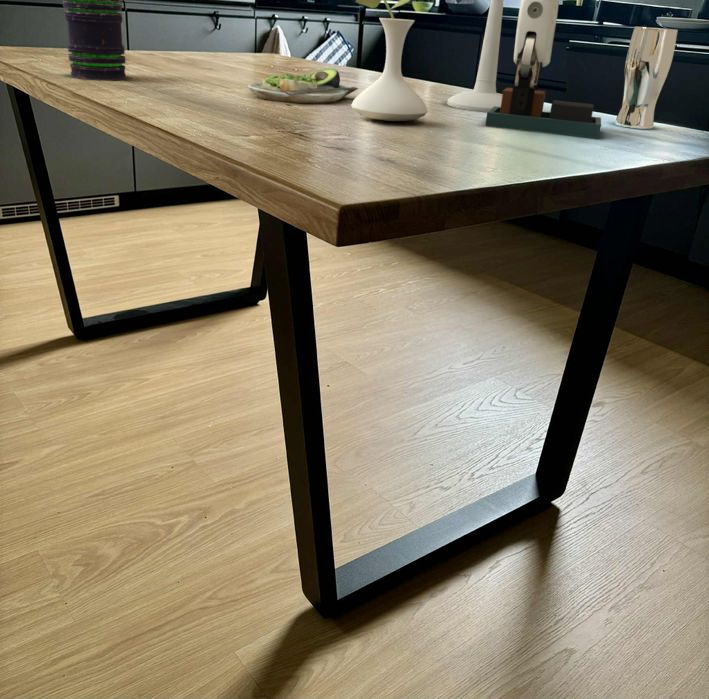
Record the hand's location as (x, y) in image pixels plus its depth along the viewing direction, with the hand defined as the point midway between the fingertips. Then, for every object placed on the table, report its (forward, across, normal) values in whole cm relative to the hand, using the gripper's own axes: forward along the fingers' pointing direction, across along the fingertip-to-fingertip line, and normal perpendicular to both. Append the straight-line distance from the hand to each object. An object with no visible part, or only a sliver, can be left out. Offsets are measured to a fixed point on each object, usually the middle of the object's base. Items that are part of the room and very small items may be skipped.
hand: (521, 111), depth 110 cm
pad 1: (0, 0, 0) cm, 0 cm away
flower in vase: (+2, -9, +20) cm, 22 cm away
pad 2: (+2, 0, -7) cm, 7 cm away
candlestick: (+2, +19, +8) cm, 21 cm away
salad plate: (+2, +6, +38) cm, 39 cm away
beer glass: (+2, +15, -18) cm, 23 cm away
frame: (+2, 0, -4) cm, 4 cm away
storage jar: (+2, +3, +78) cm, 78 cm away
